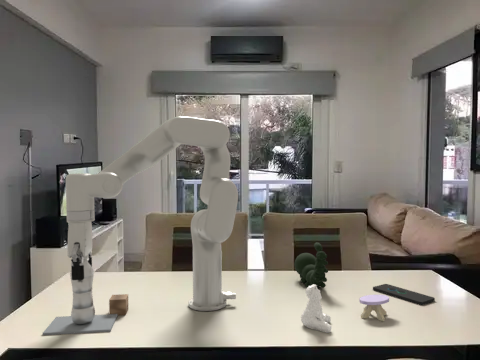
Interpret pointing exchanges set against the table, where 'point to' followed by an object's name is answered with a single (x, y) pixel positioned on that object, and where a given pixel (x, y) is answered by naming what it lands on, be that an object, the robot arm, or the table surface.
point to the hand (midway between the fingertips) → (82, 274)
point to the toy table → (374, 305)
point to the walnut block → (118, 304)
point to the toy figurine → (312, 267)
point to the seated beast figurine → (315, 311)
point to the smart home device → (404, 294)
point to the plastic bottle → (83, 296)
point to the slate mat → (81, 325)
